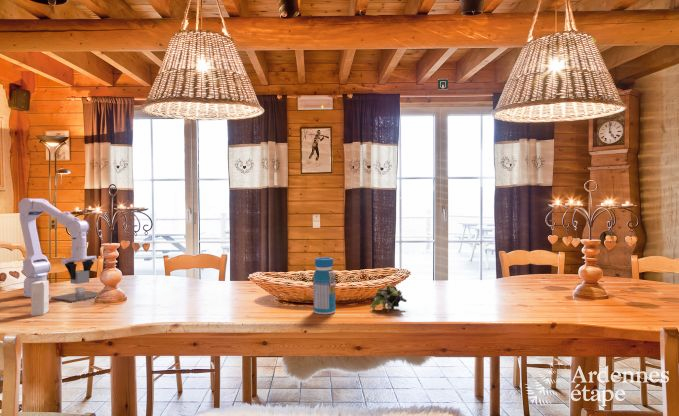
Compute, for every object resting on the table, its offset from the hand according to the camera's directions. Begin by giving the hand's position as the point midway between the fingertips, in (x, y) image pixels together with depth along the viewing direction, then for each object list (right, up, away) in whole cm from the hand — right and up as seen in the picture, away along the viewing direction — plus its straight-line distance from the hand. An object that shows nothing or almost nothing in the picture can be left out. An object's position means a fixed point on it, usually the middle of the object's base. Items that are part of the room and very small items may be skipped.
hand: (79, 278), depth 200 cm
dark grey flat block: (0, -8, 0) cm, 8 cm away
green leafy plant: (+133, -8, -31) cm, 137 cm away
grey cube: (0, -2, 0) cm, 2 cm away
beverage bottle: (+109, -8, -32) cm, 114 cm away
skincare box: (+2, -9, -30) cm, 31 cm away
